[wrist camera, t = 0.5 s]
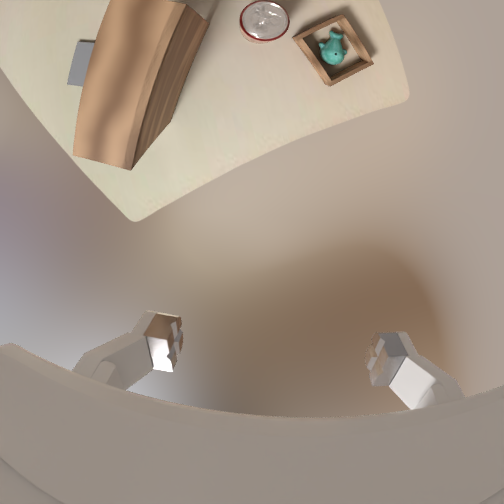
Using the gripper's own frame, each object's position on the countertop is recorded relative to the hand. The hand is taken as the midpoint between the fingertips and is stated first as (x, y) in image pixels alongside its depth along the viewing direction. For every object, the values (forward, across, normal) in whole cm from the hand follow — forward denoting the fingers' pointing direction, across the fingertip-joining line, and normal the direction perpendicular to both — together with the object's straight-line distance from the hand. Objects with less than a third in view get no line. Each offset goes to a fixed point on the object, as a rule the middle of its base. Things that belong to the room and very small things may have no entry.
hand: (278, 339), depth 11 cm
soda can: (+42, +5, -30) cm, 52 cm away
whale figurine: (+44, -9, -28) cm, 53 cm away
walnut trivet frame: (+44, -9, -28) cm, 53 cm away
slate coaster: (+38, +39, -24) cm, 60 cm away
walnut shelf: (+42, +22, -22) cm, 52 cm away
